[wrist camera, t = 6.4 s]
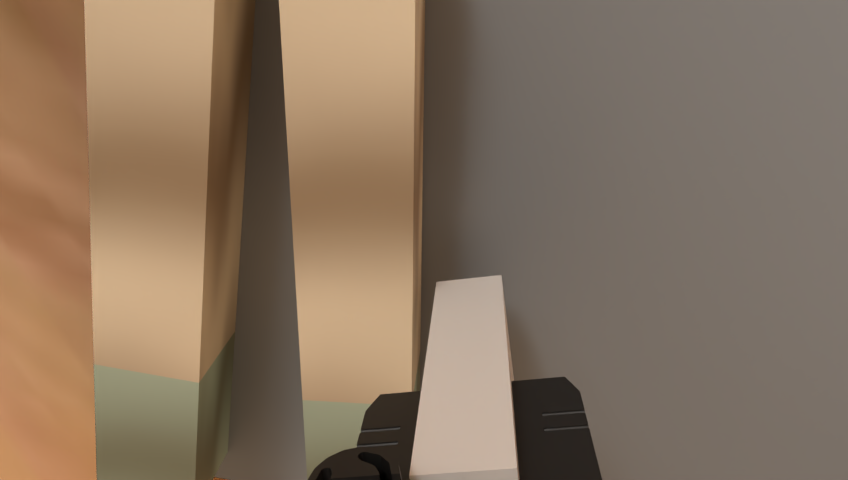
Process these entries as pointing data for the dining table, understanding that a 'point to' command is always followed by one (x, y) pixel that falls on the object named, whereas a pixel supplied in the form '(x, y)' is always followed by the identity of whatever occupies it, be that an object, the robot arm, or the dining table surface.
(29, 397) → the dining table surface
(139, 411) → the tongs base
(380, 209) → the bar
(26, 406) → the dining table surface
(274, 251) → the board
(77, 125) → the dining table surface
